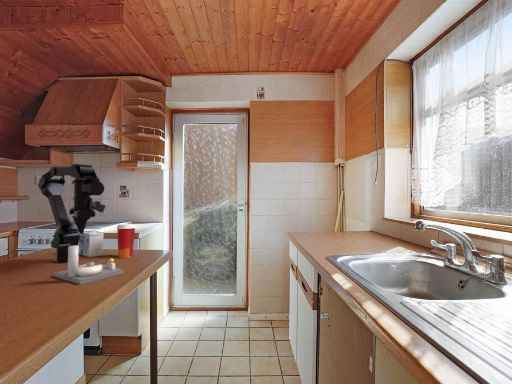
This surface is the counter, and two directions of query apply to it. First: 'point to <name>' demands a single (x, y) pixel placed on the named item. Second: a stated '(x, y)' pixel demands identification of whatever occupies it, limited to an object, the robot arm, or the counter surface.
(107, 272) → the stand
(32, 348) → the counter surface
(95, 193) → the robot arm
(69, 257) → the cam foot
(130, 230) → the coffee cup
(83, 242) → the light bulb box
